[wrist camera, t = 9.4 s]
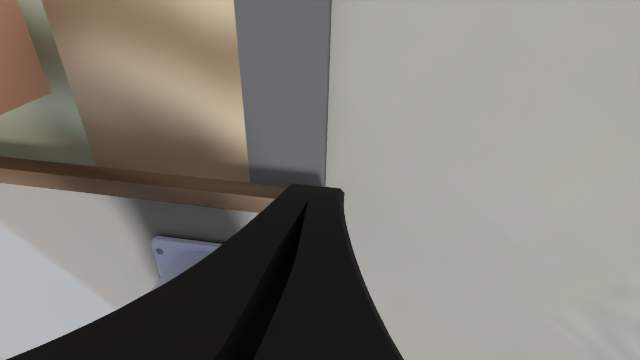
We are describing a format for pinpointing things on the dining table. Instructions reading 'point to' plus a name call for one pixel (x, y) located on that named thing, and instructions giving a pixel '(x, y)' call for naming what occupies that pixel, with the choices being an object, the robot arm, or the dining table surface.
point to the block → (18, 61)
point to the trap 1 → (285, 88)
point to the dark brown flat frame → (135, 104)
